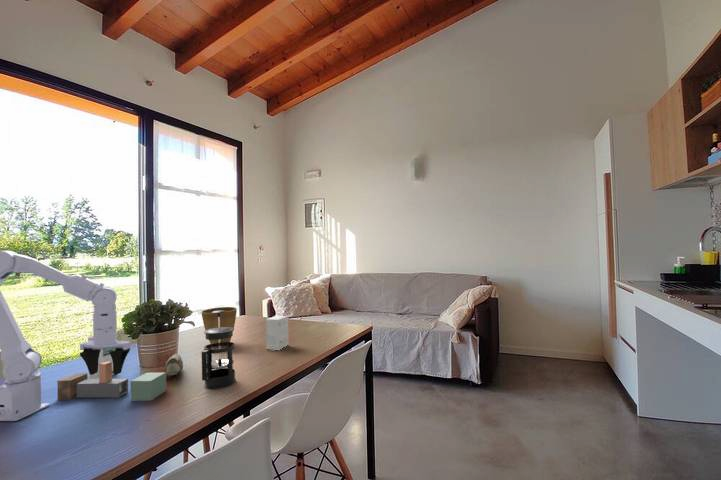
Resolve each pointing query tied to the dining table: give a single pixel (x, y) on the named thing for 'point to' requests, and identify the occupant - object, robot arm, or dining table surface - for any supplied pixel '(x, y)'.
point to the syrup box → (102, 359)
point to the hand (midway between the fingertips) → (105, 373)
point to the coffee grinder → (221, 374)
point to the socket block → (148, 386)
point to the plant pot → (225, 320)
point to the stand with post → (102, 384)
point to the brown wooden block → (69, 386)
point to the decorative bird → (174, 366)
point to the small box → (277, 332)
